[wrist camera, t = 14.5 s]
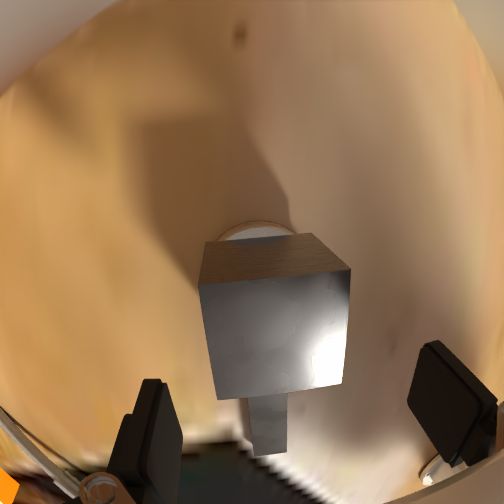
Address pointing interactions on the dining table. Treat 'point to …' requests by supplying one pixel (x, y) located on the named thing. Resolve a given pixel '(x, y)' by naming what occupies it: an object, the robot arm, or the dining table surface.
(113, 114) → the dining table surface
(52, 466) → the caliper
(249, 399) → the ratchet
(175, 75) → the dining table surface
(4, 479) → the orange juice
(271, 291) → the grey stone cube
